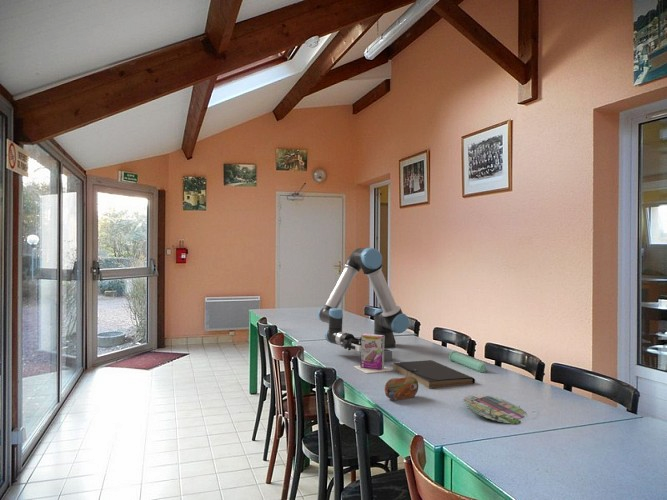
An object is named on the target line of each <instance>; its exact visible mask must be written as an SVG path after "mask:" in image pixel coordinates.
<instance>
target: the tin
mask: <svg viewBox="0 0 667 500" xmlns="http://www.w3.org/2000/svg"><path fill="white" fill-rule="evenodd" d="M384 385H385V386H384V393H385V396H386V397H387V398H388V399H390V400H392V401H396V402H397V401H401V400H407V399H411V398H414V397H415V396H416V395H417V394H418V391H419V382H417V380H416V379H415V378H414V377H410V376H405V375H404V376H400V377H394V378H390V379H388V380H387V382H385V384H384Z"/></svg>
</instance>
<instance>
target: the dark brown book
mask: <svg viewBox="0 0 667 500" xmlns="http://www.w3.org/2000/svg"><path fill="white" fill-rule="evenodd" d="M392 365H393V366H392V371H393V370H394V371H395V372H397V373H400V374H401V375H403V376H404V377H405V376H410V377H414V378H415V379H416V380H417V382H418V384H420V385H423V386H424V387H426V388H427V389H438V388H439V389H440V388H448V387H455V386H463V385H473V384H475V383H476V379H475V378H474V377H472V376H470V375H468V374H465V373H463V372H460V371H458V370H455V369H453V368H452V367H448V366H447V365H444V364H441V363H439V362H437V361H434V360H431V359H430V360H414V361H412V360H411V361H400V362H393V363H392Z"/></svg>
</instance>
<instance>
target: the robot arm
mask: <svg viewBox="0 0 667 500" xmlns="http://www.w3.org/2000/svg"><path fill="white" fill-rule="evenodd" d="M343 266H344V268H343V271H342V273H341V274H340V276H339V278H338V280H337V281H336V284H335V285H334V287H333V289H332V291H331V292H330V295H329V297H328V298H327V301H326V302H325V305H324V306H323V308H320V309H318V312H317V318H318V319H319V320H320V321H321V322H323V323H326V324H328V329H327V330H326V331H325V333H324V339H325V340H326V341H327V342H328V343H331V344H334V345H338V346H340V347H342V348H343V349H344V350H348V351H352V350H354V351H357V352H361V337H359V338H357V337H355V336H354V334H352V333H349V332H345V331H343V318H344V315H343V310H342V308H339V306H340V305H341V302H342V301H343V299H344V297H345V295H346V294H347V292H348V290H349V288H350V286H351V284H352V283H353V281H354V279H355V276H356V274H357V275H358V274H359V273H360V271H362V273H363V275H365V276H367V278H368V280H369V282H370V285H371V287H372V289H373V292H374V293H375V296H376V297H377V298H376V299H377V301H378V302H379V305H380V307H381V308H375V310H374V313H373V316H374V317H373V321H374V323H373V326H374V327H373V328H374V329H373V334H375V335H384V336H385V342H384V348H386V349H391V348H395V347H396V345H397V342H396V338H395V336H394V335H395V334H402V333H405V331H407V329H408V327H409V325H410V319H409V316H407V314H405V313H403V311H402V308H401V307H400V306H399V305H397V303H396V301H395V299H394V296H393V294H392V291H391V289H390V286H389V285H388V283H387V280H386V278H385V275H384V273H383V271H382V269H383V255H382V253H381V252H380V251H379V250H378V249H376V248H373V247H359V248H356V249H354V250H353V251H352V252H351V253H350V255H349V256H348V257H347V260H346V261H345V262H344V265H343Z"/></svg>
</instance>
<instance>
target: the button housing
mask: <svg viewBox="0 0 667 500" xmlns="http://www.w3.org/2000/svg"><path fill="white" fill-rule="evenodd" d="M391 361H393V351H392V350H390V349H389V348H384V362H391Z"/></svg>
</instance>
